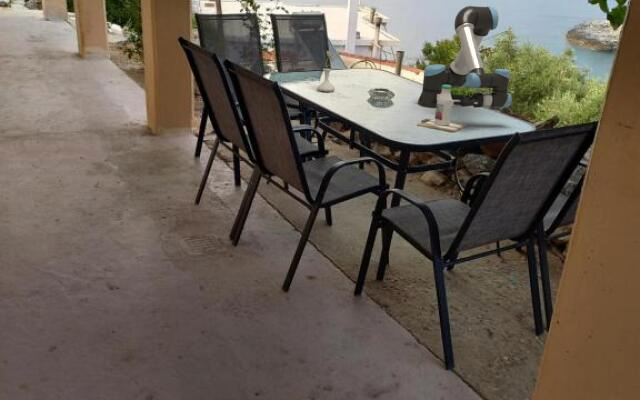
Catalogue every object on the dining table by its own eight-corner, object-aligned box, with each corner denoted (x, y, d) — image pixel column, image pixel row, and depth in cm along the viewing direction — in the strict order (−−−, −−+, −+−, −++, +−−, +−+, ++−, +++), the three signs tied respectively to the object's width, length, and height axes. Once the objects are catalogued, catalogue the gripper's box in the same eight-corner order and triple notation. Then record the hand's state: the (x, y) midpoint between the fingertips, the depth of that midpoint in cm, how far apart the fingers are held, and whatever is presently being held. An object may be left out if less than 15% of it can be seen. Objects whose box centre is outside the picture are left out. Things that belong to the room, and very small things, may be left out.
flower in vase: (335, 93, 370) (337, 52, 361) (316, 92, 370) (318, 51, 361) (334, 89, 382) (337, 50, 373) (317, 88, 382) (319, 49, 373)
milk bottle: (447, 122, 307) (452, 84, 300) (450, 126, 300) (456, 87, 293) (432, 122, 307) (437, 83, 299) (435, 125, 299) (441, 86, 292)
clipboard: (429, 120, 315) (430, 116, 314) (465, 126, 305) (466, 123, 304) (416, 125, 303) (417, 122, 302) (453, 132, 292) (454, 129, 292)
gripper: (490, 113, 292) (450, 112, 288) (470, 102, 315) (432, 101, 311) (493, 97, 289) (452, 97, 286) (472, 88, 312) (434, 87, 308)
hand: (441, 99), depth 298 cm, fingers open, 13 cm apart
